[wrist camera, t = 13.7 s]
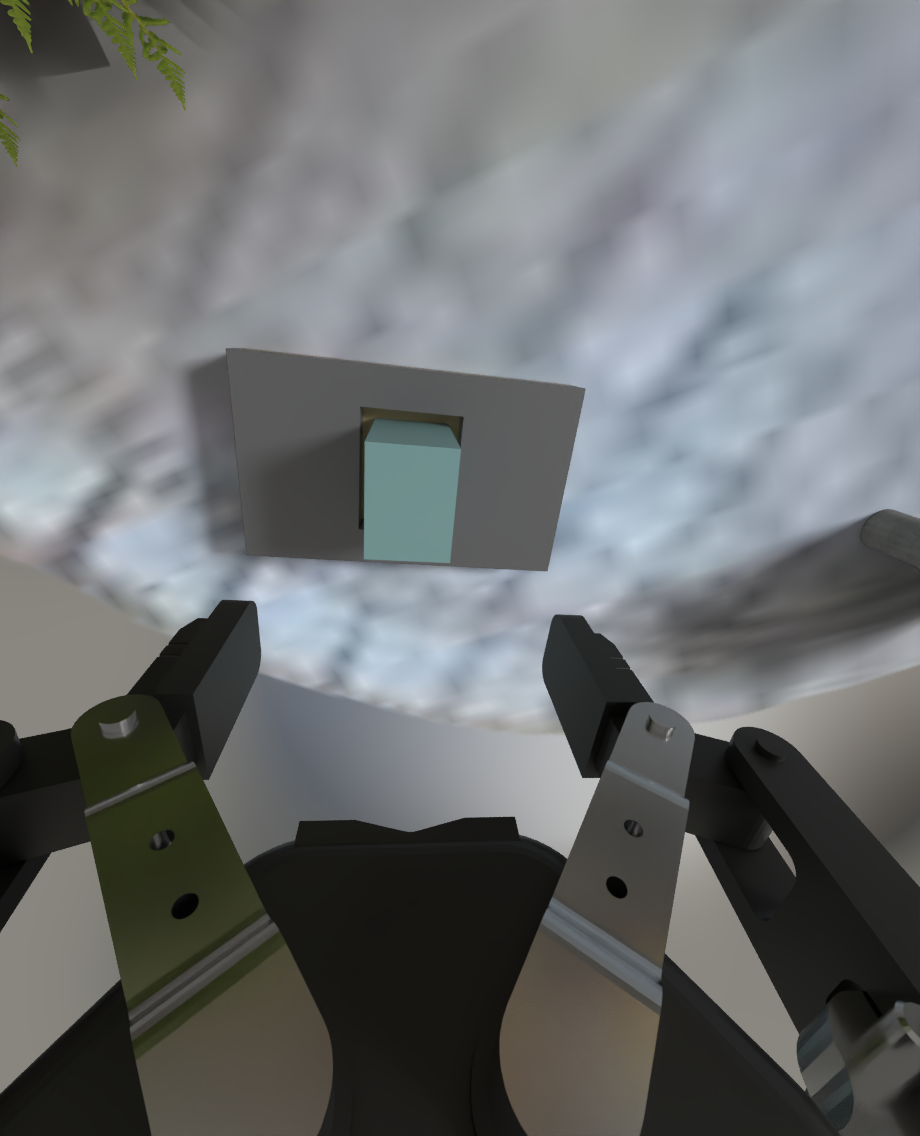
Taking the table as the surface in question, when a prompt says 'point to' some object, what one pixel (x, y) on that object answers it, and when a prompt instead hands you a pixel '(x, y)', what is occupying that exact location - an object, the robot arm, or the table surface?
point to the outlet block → (337, 454)
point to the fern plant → (101, 6)
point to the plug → (410, 491)
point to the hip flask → (894, 535)
